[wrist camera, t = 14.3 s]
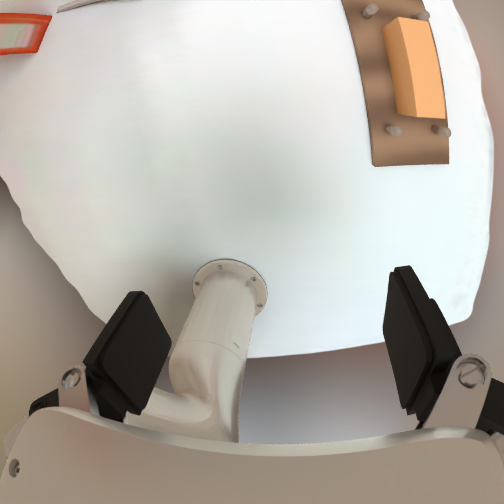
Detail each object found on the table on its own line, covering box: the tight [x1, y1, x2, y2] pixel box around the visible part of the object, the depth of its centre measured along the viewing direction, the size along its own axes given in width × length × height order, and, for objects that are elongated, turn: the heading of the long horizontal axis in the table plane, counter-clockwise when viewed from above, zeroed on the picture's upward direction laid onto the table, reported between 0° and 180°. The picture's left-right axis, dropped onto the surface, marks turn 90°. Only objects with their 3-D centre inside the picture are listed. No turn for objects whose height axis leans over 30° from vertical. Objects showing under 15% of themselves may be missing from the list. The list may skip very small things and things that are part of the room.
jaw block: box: [382, 17, 446, 119], centre depth 22 cm, size 4×12×6 cm, turn 11°
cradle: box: [342, 0, 451, 167], centre depth 23 cm, size 26×12×5 cm, turn 11°
